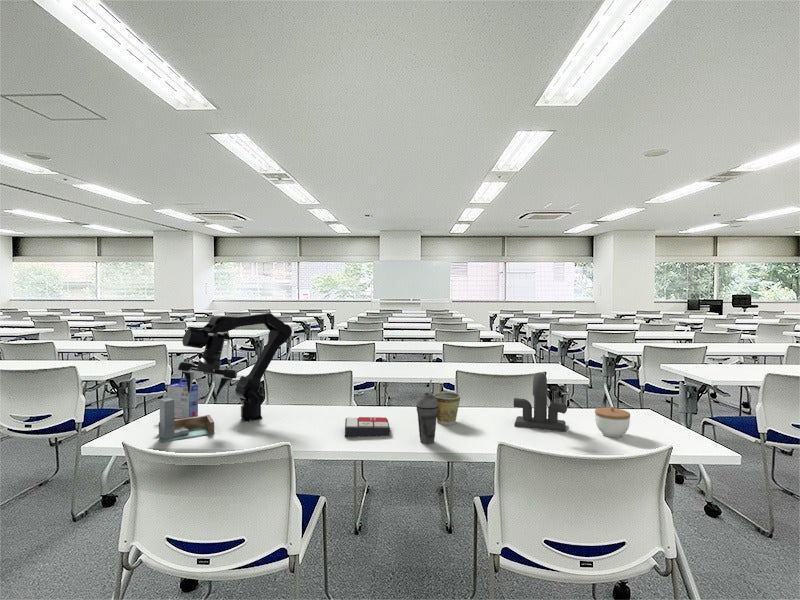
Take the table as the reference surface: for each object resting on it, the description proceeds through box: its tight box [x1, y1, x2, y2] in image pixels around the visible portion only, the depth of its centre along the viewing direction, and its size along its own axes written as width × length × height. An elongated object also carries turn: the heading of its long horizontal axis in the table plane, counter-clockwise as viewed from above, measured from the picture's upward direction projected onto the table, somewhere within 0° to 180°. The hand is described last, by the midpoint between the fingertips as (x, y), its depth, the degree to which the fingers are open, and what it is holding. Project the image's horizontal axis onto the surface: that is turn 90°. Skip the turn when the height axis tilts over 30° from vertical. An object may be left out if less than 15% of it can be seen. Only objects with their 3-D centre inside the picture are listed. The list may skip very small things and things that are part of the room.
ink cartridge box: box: [166, 377, 199, 419], centre depth 168 cm, size 10×6×14 cm, turn 78°
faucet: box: [513, 372, 568, 433], centre depth 153 cm, size 18×16×20 cm
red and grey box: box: [344, 416, 391, 439], centre depth 150 cm, size 11×4×15 cm
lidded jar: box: [594, 406, 631, 439], centre depth 147 cm, size 11×11×9 cm
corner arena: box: [158, 414, 215, 443], centre depth 148 cm, size 16×10×4 cm, turn 122°
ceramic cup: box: [432, 391, 461, 426], centre depth 162 cm, size 13×10×10 cm
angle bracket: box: [159, 397, 189, 440], centre depth 144 cm, size 8×4×12 cm, turn 139°
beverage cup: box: [415, 379, 439, 445], centre depth 140 cm, size 7×7×20 cm
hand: (202, 394), depth 152 cm, fingers open, 9 cm apart
